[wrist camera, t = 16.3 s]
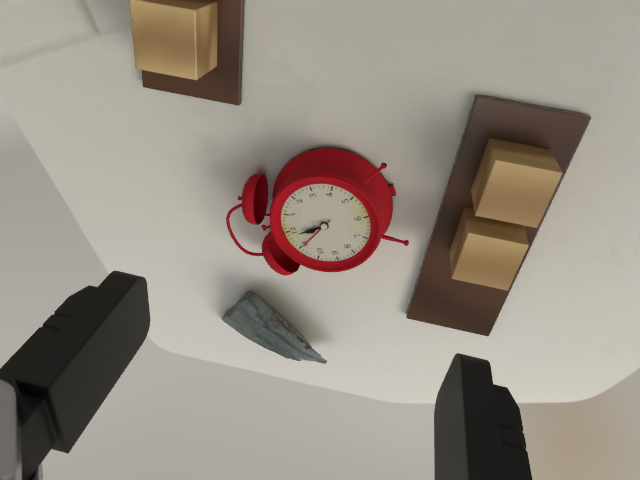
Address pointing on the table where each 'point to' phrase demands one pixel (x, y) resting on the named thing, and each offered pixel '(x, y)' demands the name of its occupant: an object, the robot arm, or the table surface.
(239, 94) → the brown block tray
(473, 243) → the tray
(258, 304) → the stone
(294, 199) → the alarm clock
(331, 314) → the table surface
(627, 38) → the table surface
